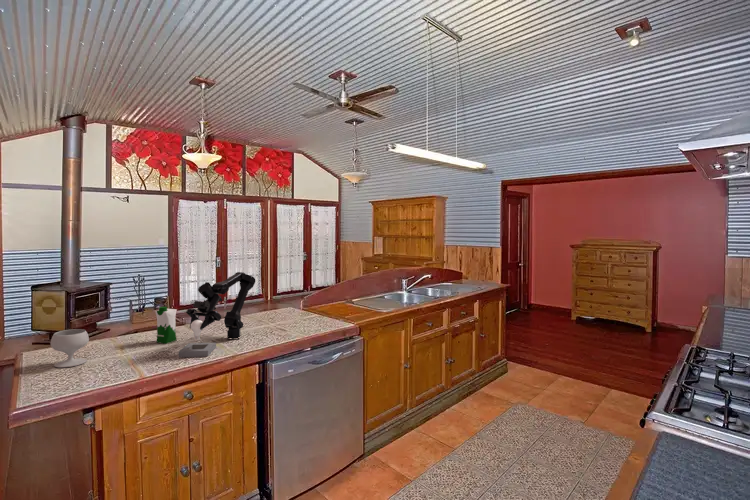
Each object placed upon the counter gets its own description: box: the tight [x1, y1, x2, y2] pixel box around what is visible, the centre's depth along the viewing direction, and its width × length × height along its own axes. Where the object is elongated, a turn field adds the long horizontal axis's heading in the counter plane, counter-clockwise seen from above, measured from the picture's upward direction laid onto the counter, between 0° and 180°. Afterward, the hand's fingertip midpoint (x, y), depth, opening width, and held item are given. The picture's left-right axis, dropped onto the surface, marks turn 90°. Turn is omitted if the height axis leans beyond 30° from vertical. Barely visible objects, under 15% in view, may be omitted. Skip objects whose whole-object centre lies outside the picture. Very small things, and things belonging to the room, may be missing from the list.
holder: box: [177, 342, 217, 358], centre depth 197 cm, size 14×14×3 cm
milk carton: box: [154, 306, 178, 345], centre depth 216 cm, size 9×9×20 cm
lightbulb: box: [189, 319, 204, 342], centre depth 197 cm, size 6×6×11 cm
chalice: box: [50, 328, 90, 368], centre depth 179 cm, size 14×14×15 cm
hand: (195, 328), depth 196 cm, fingers closed on lightbulb, 6 cm apart
